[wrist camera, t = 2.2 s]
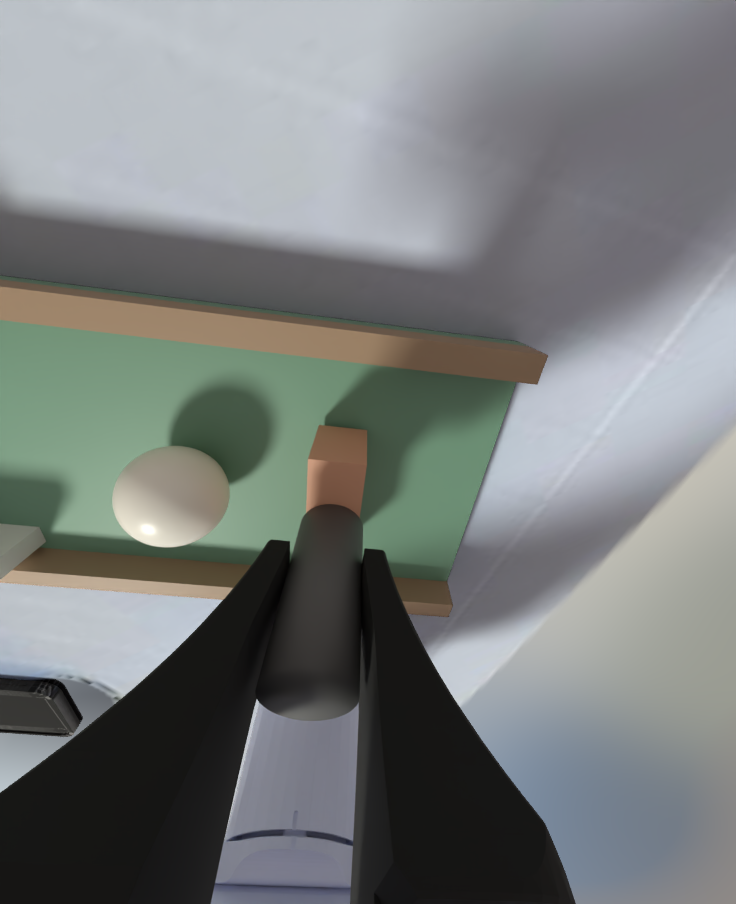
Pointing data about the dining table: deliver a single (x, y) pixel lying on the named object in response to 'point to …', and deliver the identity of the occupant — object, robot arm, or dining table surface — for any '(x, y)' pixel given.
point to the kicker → (321, 590)
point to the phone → (37, 708)
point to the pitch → (237, 431)
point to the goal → (17, 545)
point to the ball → (170, 496)
